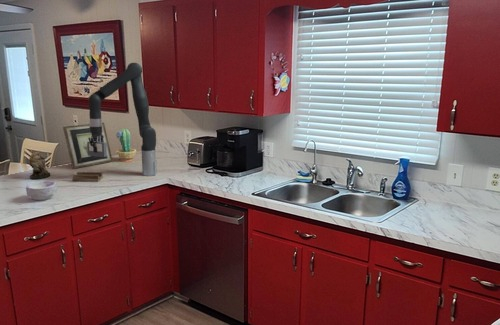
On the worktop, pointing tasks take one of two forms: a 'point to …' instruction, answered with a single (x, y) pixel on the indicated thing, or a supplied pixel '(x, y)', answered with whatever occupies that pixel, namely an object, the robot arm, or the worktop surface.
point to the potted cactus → (125, 146)
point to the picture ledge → (87, 177)
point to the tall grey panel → (100, 149)
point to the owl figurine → (38, 166)
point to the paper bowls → (41, 190)
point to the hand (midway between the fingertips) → (96, 151)
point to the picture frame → (83, 146)
